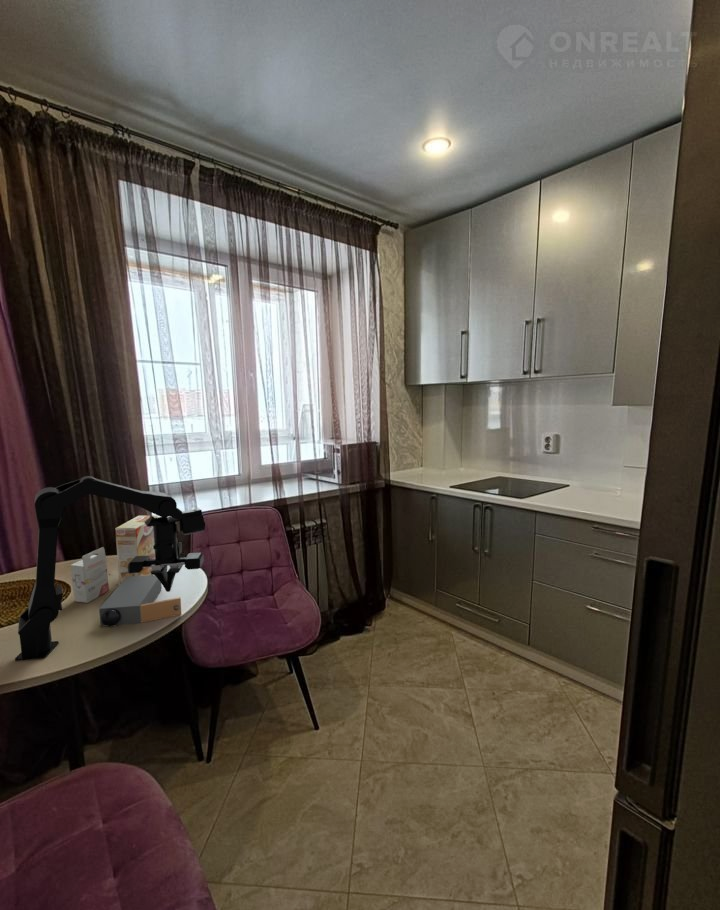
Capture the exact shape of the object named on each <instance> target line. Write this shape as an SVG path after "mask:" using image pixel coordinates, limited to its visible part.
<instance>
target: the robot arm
mask: <svg viewBox="0 0 720 910" xmlns="http://www.w3.org/2000/svg"><path fill="white" fill-rule="evenodd" d="M89 495H93V496H97V497H101V498H105V499H109V500H113V501H117V502H120V503H125V504H129V505H133V506H137V507H139V508H142V509H143V510H146V511H148V512H149V513H152V514H154V515H155V516H157V518H154V517H153V516H154V515H149V516H150V517H149V519H147V520H146V521H145V524H146V525H147V526H148V527H150V526H153V531H154V546H153V549H155V559H151V560H150V557H149V556H135V557H134V558H133V560H132V561H131V562H130V563H129V564H128V573H140V572H141V571H142V570H143V567H152V571H151V574H152V575H155V576H156V577H157V578H158V579H159V581H160V582H161V586H163V588H164V590H165V591H166V592H168V593H169V592H171V591H172V587H173V584H174V579H175V577H176V574H178V573H179V572H180V571H181V569H182V568H183V567H185V569H187V570H188V571H190V570H199V569H201V567H202V566H203V563H204V562H205V561H204V560H205V559H204V558H205V557H204V554H203V553H202V552H189V553H188V554H187V555H186V557H180V555H181V554H182V552H183V542H181V541H180V542H178V541H179V539H178V537H177V532H178V533H181V534H182V536H188V535H193V534H197V533H203V532H205V531H206V521H205V519H204V515H203V510H202V509H200V508H194V509H192V510H184V511H182V510H181V509H180V508H178V506H177V505H178V503H177V501H176V499H175V498H173V497H172V496H171V495H169V494H168V493H166V492H159V491H153V490H152V491H149V490H146V491H145V490H139V489H135V488H131V487H128V486H124V485H120V484H118V483H117V484H116V483H113V482H109V481H106V480H103V479H98V478H95V477H94V476H91V475H86V476H85V475H84V476H83V477H81V478H79V479H76V480H73V481H70V482H67V483H63V484H61V485H59V486H56V487H53V486H49V487H45V488H41V489H40V490H38V492H36V494H35V496H34V510H35V516H36V520H37V525H38V526H37V527H38V534H37V535H38V539H37V554H36V574H35V583H34V585H33V586H34V587H33V589H32V591H31V595H30V599H29V602H28V607H27V608H26V609H25V610H24V611H23V612H22V613H21V614H20V616H19V617H18V626H17V627H18V629H17V634H18V636H19V643H20V653H19V654H17V655H16V657H15V658H14V662H18V661H28V660H29V661H30V660H41V659H45V658H47V657H48V655H50V653H52V651H53V650H54V649H55V648H56V647H57V646H58V645H59V643H60V642H59V640H56V641H55V640H53V639H52V631H51V623H52V622H54V621H55V620H56V619H57V618H58V616H59V612H60V611H63V605H62V604H63V603H62V600H63V596H64V592H63V586H62V585H56V584H55V582H56V578H55V577H56V566H57V565H56V563H57V561H56V560H57V549H58V547H57V546H58V531H59V526H60V523H61V520H62V518H63V513H64V511H65V508H66V507H68V506H70V505H73V504H74V503H76V502H78V501H80V500H81V499H83V498H84V497H87V496H89ZM168 517H169V518H168ZM183 565H184V566H183ZM168 567H169V568H168Z"/></svg>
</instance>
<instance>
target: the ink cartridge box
mask: <svg viewBox="0 0 720 910" xmlns="http://www.w3.org/2000/svg"><path fill="white" fill-rule="evenodd" d="M105 551H106V550H105V548H104V546H102V547H100V548H98V549H95V550H93V551H91V552H89V553H85V554H84V555H82V556H81V560H79V561H76V562H74V563H72V564H70V572H71V581H72V591H73V597H74V602H78V603H79V602H80V603H88V604H89V602H91V601H94V600H95V599H97V598H98V597H100V596H101V595H103V594H105V593H106V592H109V591H110V587H109V586H110V585H109V584H110V583H109V575H108V565H107V564H108V563H107V556H106V552H105Z"/></svg>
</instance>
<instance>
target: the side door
mask: <svg viewBox="0 0 720 910" xmlns="http://www.w3.org/2000/svg"><path fill="white" fill-rule="evenodd" d="M181 601H182V600H181V597H180V596H179V597H174V598H169V599H164V600H158V601H154V602H152V603H147V604H142V605H141V618H142V621H141V623H145V622H151V621H156V620H160V619H166V618H171V617H175V616H180V615H182V602H181Z"/></svg>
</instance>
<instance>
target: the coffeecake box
mask: <svg viewBox="0 0 720 910" xmlns="http://www.w3.org/2000/svg"><path fill="white" fill-rule="evenodd" d="M150 516H151V515H137V516H135V517H134V518H132V519H130V520H128V521H126V522H124V523H122V524H121V525H119V526H117V527H115V528H114V529H115V543H116V544H115V545H116V555H117V558H116V559H117V571H118V583H119V585H120V584H121V583H122V582H123V581H124V580H125V578H126V577H134V576H149V575H152V574H151V571H152V567H143V570H142V571H141V572H140V573H128V564H129V563H130V562H131V561H132V560H133V558H134V557H135V556H149V557H150V560H151V559H155V549H153V546H154V531H153V526H150V527H148V526H147V525H146V524H145V521H146V520H147V519H149V517H150ZM152 516H153V517H154V518H158V515H152ZM119 585H118V586H119Z"/></svg>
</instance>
